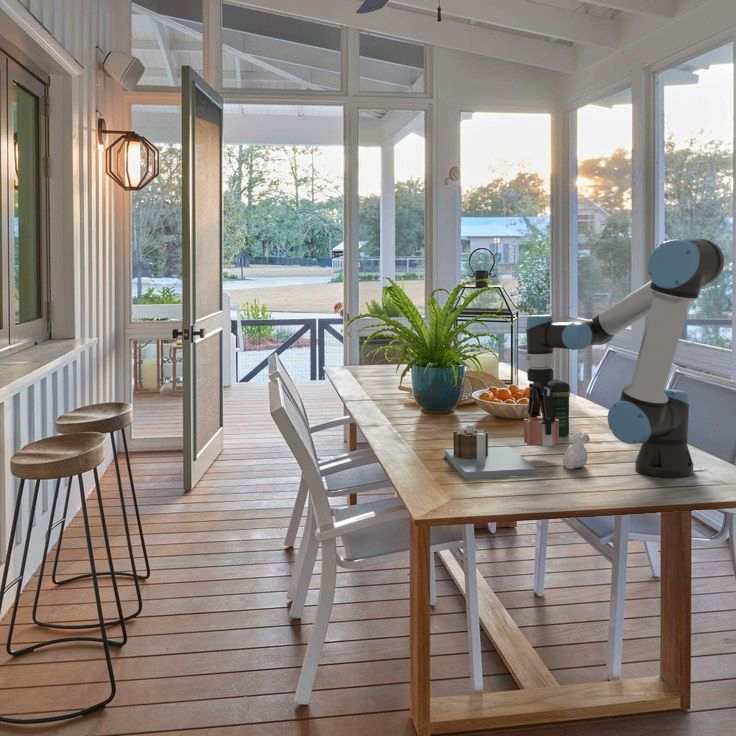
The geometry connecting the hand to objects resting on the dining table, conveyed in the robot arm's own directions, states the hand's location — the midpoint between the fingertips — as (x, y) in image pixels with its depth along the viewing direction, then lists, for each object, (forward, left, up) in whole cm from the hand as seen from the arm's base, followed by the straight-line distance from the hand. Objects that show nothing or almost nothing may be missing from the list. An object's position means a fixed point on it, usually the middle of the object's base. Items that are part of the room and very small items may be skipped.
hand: (541, 441), depth 235 cm
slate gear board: (-4, +17, -5) cm, 19 cm away
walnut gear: (+1, +21, -3) cm, 22 cm away
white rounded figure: (-10, -7, -5) cm, 13 cm away
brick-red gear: (0, 0, 0) cm, 0 cm away
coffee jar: (+31, -16, -5) cm, 35 cm away
